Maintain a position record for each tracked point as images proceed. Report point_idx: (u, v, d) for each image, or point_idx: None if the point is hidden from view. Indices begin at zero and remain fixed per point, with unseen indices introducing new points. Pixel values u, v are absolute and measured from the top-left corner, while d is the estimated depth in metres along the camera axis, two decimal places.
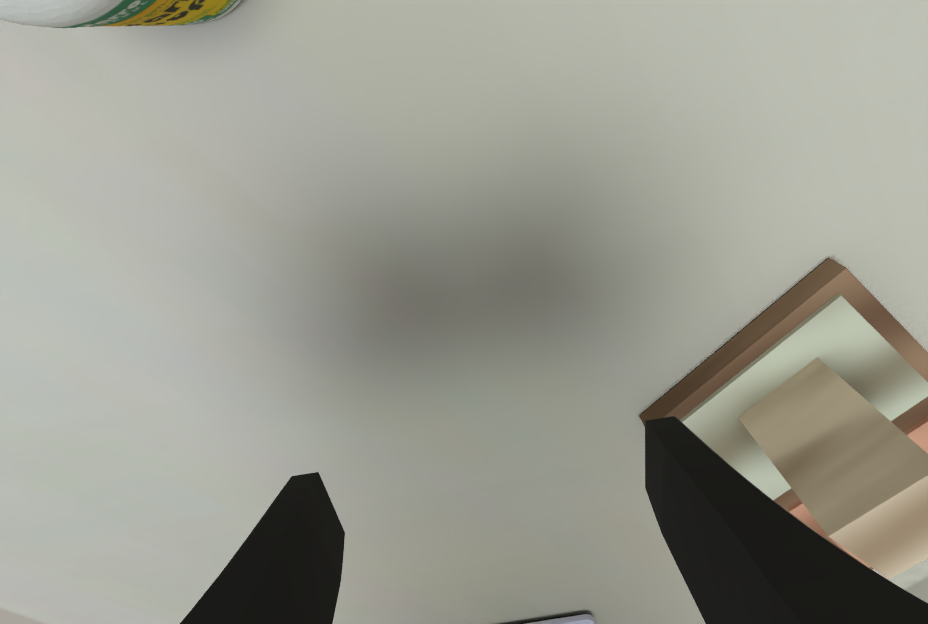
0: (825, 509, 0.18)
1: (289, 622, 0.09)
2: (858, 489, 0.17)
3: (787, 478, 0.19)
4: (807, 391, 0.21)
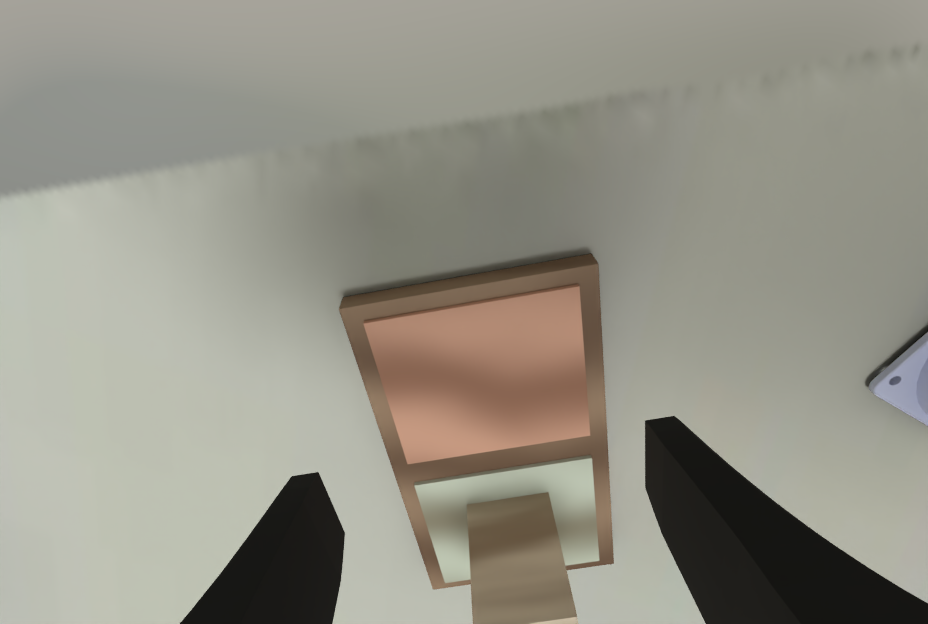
0: None
1: (289, 622, 0.09)
2: None
3: None
4: None
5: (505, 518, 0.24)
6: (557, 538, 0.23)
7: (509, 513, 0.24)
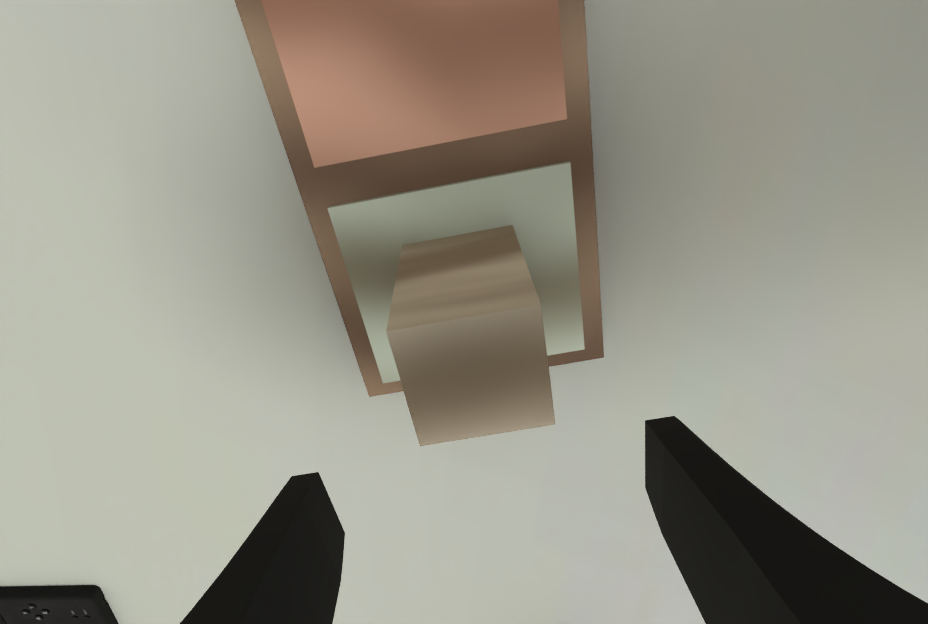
0: None
1: (289, 622, 0.09)
2: None
3: None
4: None
5: (451, 247, 0.17)
6: (520, 253, 0.16)
7: (457, 244, 0.18)
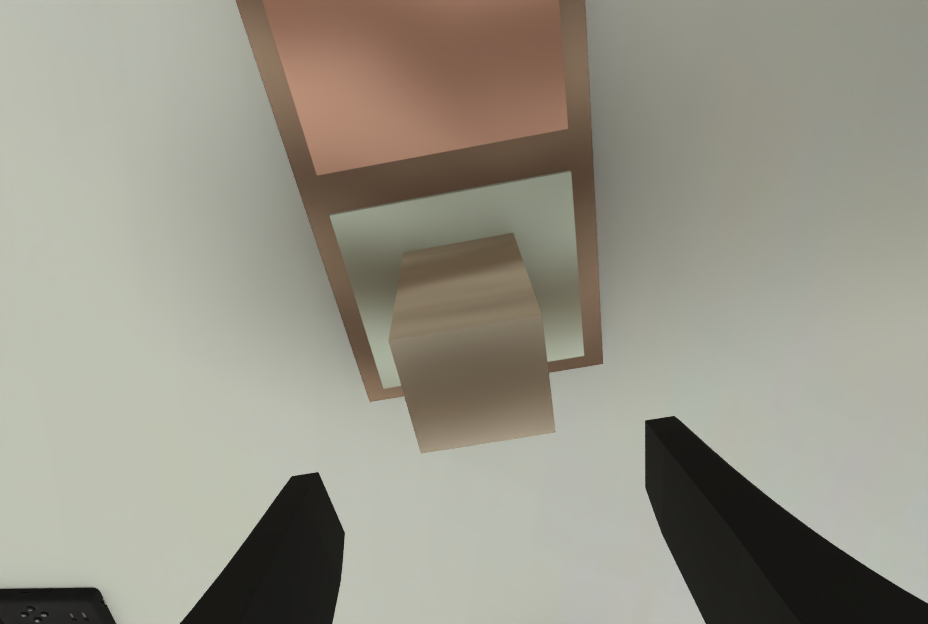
0: None
1: (289, 622, 0.09)
2: None
3: None
4: None
5: (452, 255, 0.17)
6: (521, 261, 0.16)
7: (458, 252, 0.18)
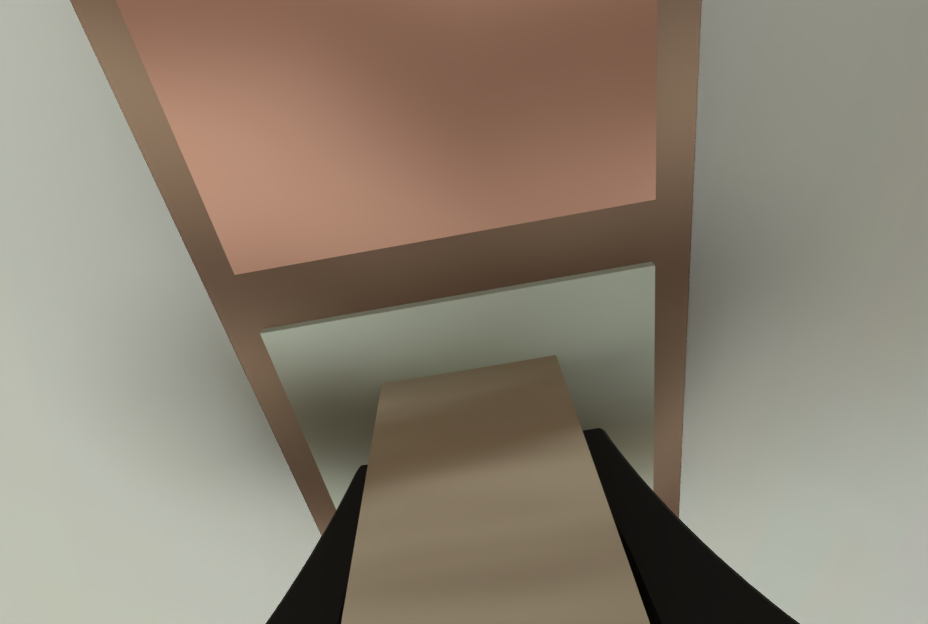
0: None
1: None
2: None
3: None
4: None
5: (460, 402, 0.11)
6: (579, 434, 0.09)
7: (469, 394, 0.11)
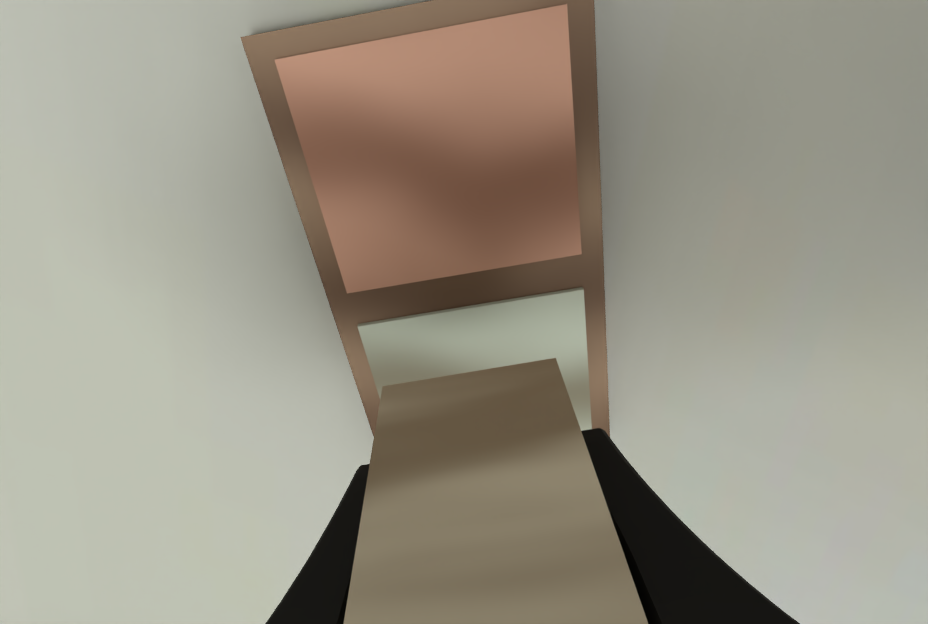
0: None
1: None
2: None
3: None
4: None
5: (460, 405, 0.11)
6: (579, 437, 0.09)
7: (470, 396, 0.11)
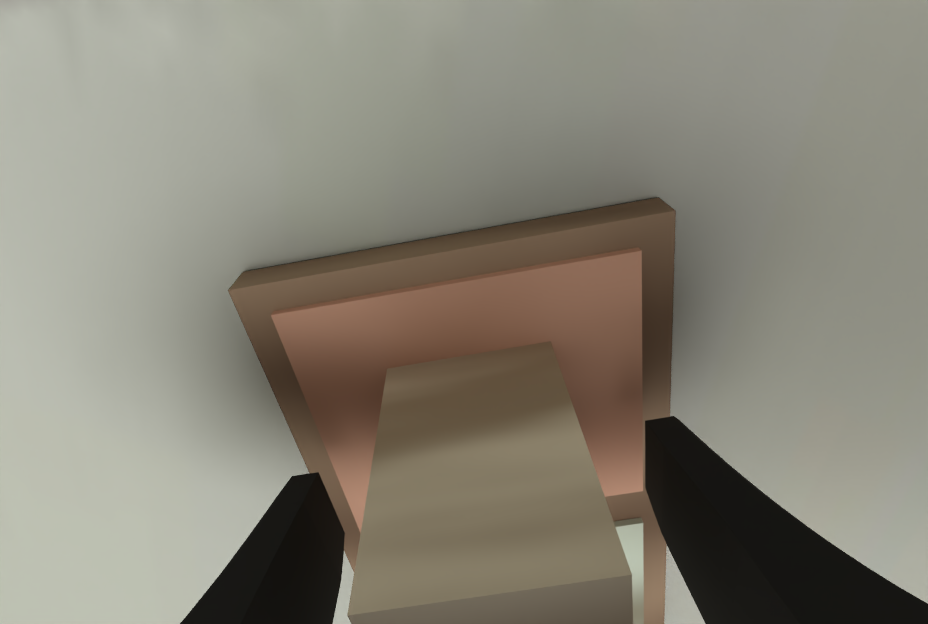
0: None
1: (289, 622, 0.09)
2: None
3: None
4: None
5: (460, 384, 0.11)
6: (571, 411, 0.10)
7: (470, 376, 0.12)
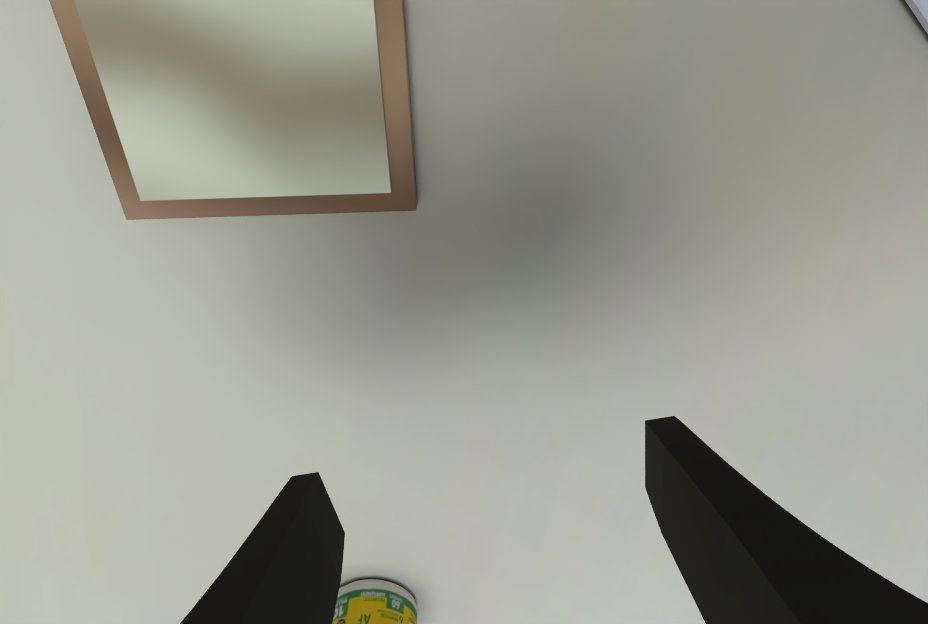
0: None
1: (289, 622, 0.09)
2: None
3: None
4: None
5: None
6: None
7: None
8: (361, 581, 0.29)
